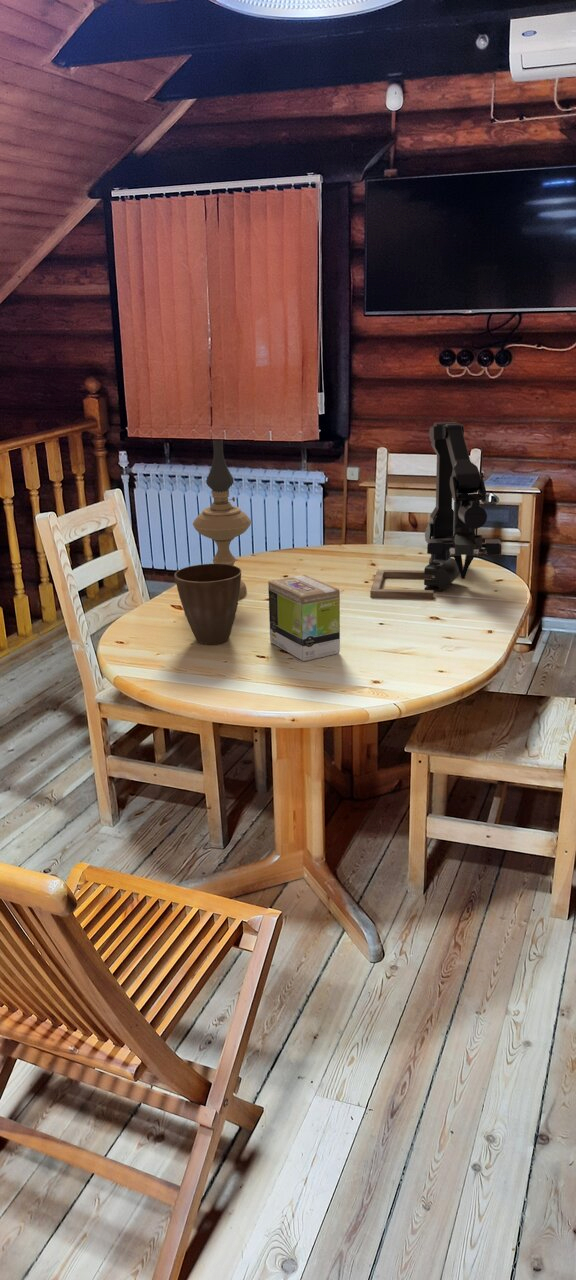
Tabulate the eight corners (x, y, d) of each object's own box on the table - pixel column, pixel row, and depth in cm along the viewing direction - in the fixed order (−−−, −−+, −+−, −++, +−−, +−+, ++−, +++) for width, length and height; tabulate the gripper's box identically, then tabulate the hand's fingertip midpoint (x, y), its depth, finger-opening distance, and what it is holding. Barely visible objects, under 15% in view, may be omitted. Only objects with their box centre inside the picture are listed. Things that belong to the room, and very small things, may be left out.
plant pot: (172, 650, 210) (166, 581, 204) (187, 627, 223) (183, 562, 218) (237, 651, 208) (234, 582, 202) (249, 629, 221) (246, 563, 216)
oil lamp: (264, 595, 245) (259, 440, 231) (214, 606, 238) (205, 447, 224) (236, 582, 257) (229, 434, 243) (187, 592, 250) (177, 440, 236)
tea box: (341, 653, 205) (341, 588, 200) (302, 663, 200) (300, 596, 195) (306, 634, 217) (305, 572, 212) (268, 642, 213) (266, 579, 208)
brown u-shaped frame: (377, 575, 260) (377, 569, 260) (435, 576, 258) (435, 570, 257) (370, 597, 242) (370, 591, 241) (433, 598, 239) (433, 592, 239)
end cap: (449, 593, 243) (450, 568, 240) (423, 590, 246) (423, 565, 243) (460, 583, 251) (461, 558, 249) (434, 580, 254) (435, 556, 252)
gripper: (427, 527, 235) (426, 586, 240) (503, 527, 232) (500, 588, 237) (428, 517, 245) (427, 574, 250) (501, 517, 242) (499, 575, 247)
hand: (463, 578), depth 246 cm, fingers closed
